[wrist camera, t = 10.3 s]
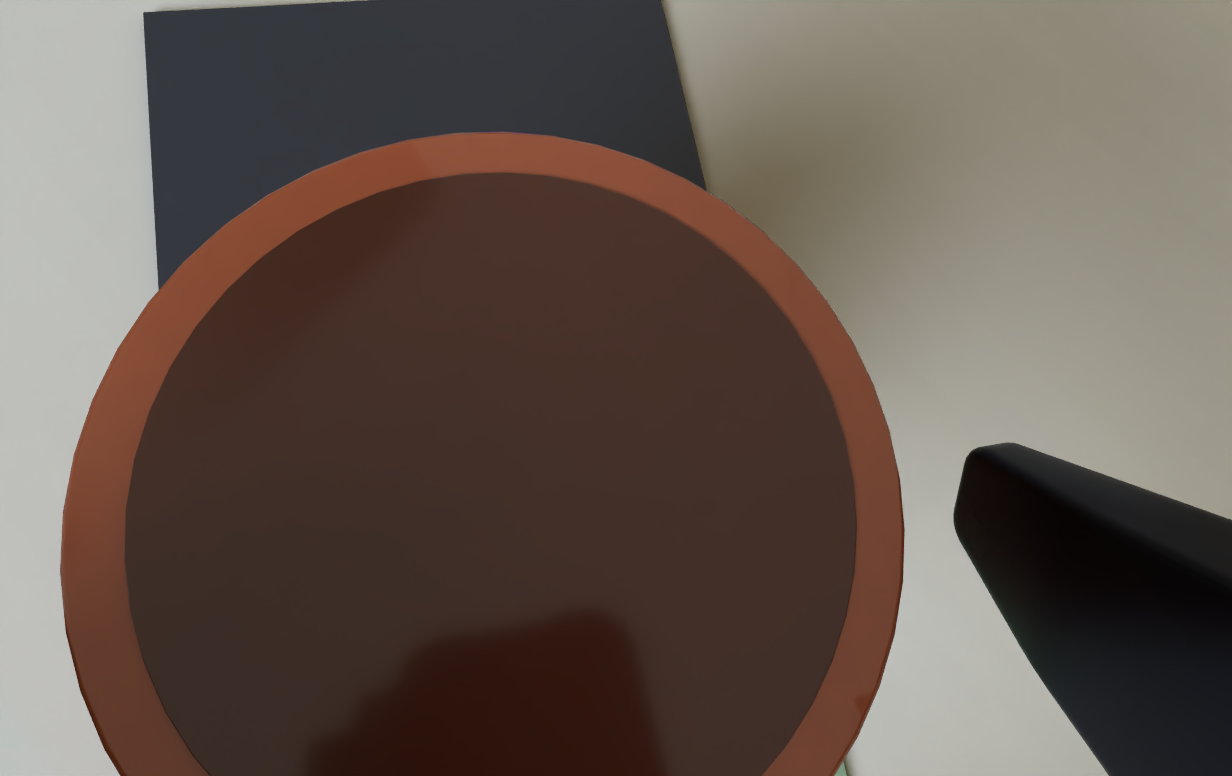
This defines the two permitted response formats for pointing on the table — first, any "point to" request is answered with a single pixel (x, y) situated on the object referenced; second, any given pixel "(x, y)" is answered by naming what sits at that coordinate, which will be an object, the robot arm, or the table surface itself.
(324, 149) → the desk mat
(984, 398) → the table surface
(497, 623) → the tumbler
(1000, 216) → the table surface
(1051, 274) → the table surface
